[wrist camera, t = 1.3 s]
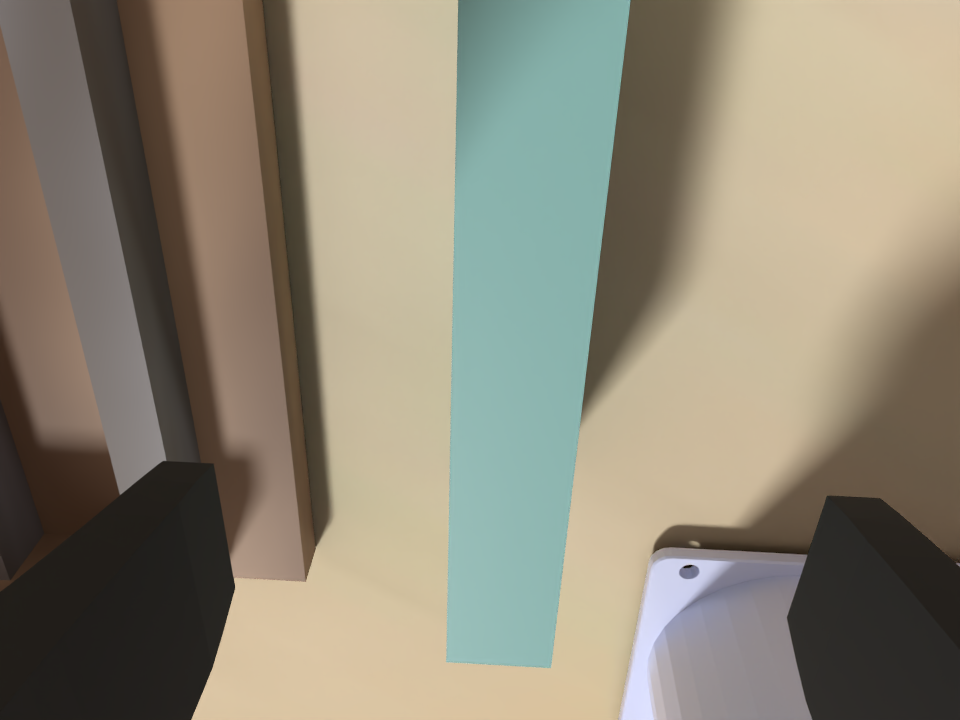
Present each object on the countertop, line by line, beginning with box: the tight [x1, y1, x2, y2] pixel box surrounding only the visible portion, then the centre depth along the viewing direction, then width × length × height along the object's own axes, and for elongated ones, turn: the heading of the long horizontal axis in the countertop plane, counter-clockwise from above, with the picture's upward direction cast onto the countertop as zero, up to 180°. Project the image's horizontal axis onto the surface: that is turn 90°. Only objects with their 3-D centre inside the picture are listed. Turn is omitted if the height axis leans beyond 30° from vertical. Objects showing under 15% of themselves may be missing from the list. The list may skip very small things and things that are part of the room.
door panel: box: [446, 0, 631, 668], centre depth 15 cm, size 2×12×6 cm, turn 178°
